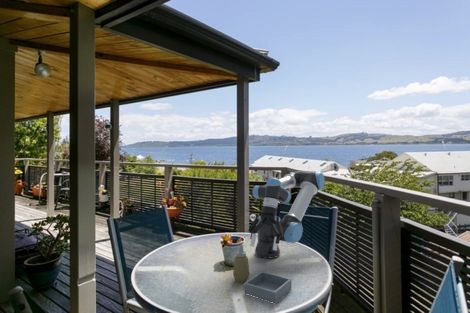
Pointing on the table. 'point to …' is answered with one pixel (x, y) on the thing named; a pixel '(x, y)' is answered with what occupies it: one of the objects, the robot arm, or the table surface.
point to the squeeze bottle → (241, 266)
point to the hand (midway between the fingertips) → (263, 248)
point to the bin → (268, 286)
